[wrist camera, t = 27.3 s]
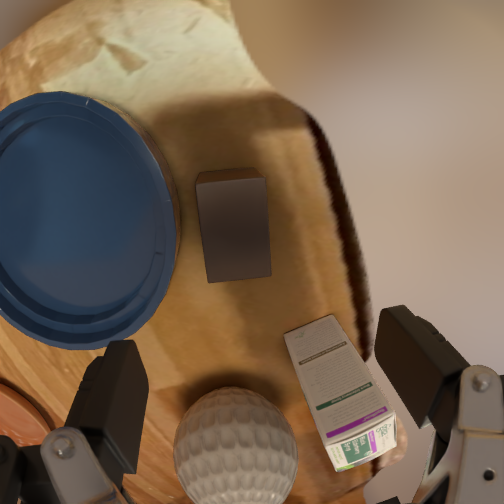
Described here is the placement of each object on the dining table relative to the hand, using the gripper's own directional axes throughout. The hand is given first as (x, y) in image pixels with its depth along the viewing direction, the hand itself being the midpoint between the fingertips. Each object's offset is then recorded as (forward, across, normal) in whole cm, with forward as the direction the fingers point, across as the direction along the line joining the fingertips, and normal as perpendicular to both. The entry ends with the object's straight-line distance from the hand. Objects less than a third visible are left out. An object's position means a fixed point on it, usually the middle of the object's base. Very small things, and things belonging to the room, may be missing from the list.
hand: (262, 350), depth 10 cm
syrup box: (+18, -8, +15) cm, 25 cm away
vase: (+18, +2, +23) cm, 29 cm away
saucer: (+18, +38, +26) cm, 49 cm away
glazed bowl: (+18, +16, -1) cm, 24 cm away
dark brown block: (+18, 0, 0) cm, 18 cm away
